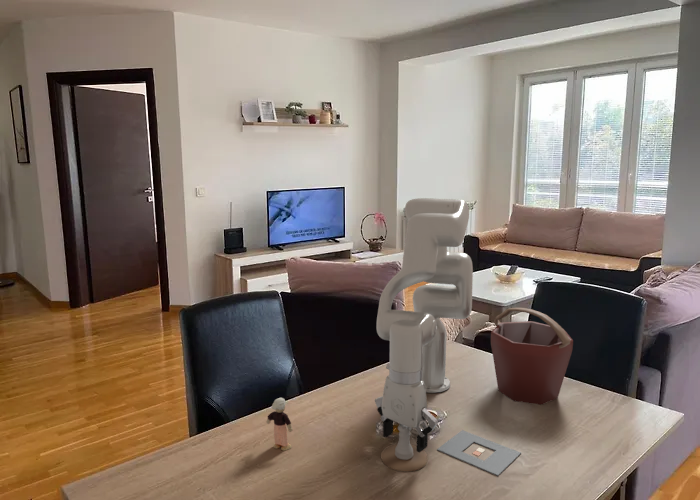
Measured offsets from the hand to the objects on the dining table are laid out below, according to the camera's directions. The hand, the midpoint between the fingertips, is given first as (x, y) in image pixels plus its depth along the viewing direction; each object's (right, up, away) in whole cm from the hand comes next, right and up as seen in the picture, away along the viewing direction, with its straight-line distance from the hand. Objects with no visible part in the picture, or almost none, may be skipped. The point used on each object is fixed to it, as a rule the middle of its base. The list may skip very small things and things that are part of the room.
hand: (404, 442), depth 127 cm
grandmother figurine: (-30, -3, +6) cm, 31 cm away
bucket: (+41, +2, +36) cm, 55 cm away
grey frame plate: (+18, -4, +3) cm, 19 cm away
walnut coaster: (0, -4, +1) cm, 4 cm away
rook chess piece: (0, -4, +1) cm, 4 cm away
